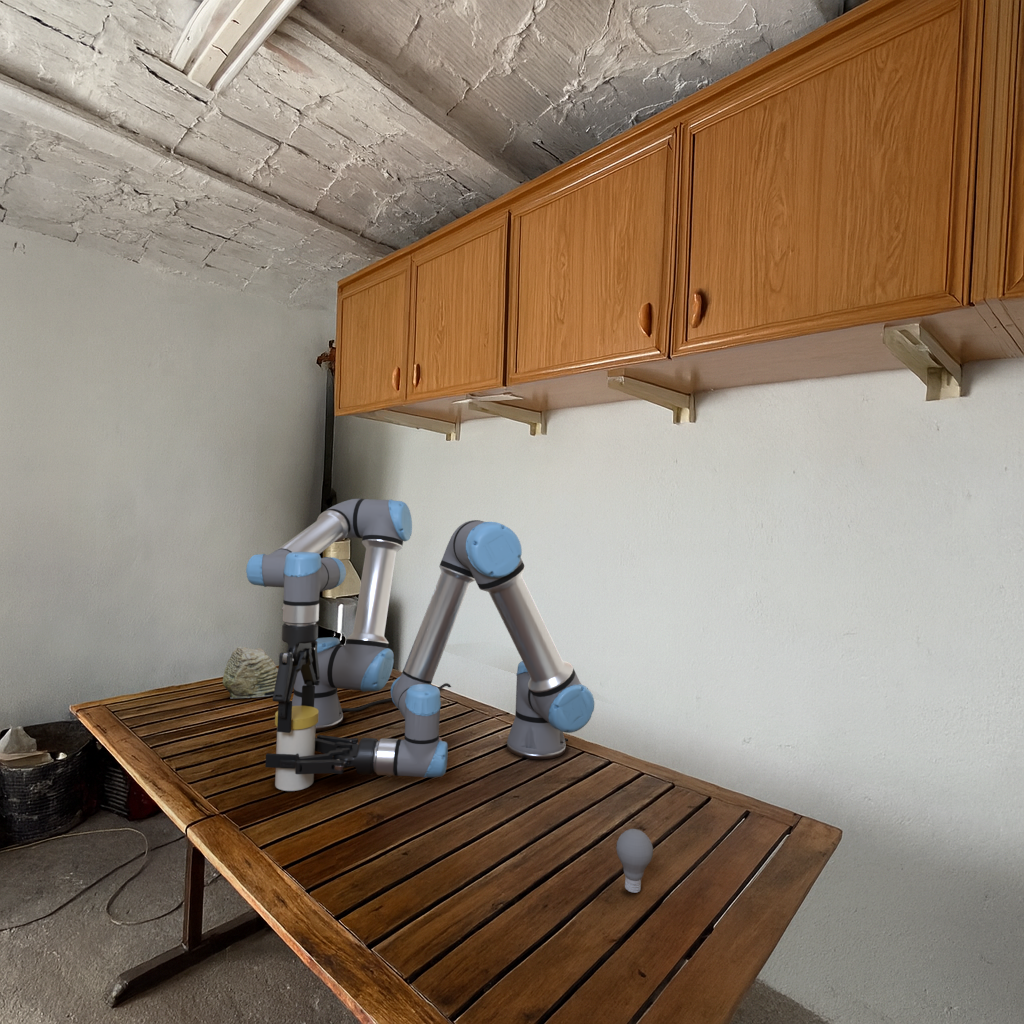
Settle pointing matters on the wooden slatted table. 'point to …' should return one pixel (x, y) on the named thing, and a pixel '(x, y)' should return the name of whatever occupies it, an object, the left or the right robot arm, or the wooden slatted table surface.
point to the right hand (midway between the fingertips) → (274, 752)
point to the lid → (302, 717)
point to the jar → (295, 744)
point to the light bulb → (634, 857)
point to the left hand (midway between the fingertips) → (296, 722)
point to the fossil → (250, 674)
